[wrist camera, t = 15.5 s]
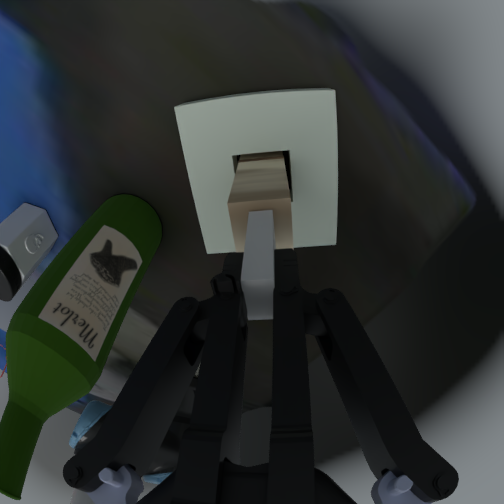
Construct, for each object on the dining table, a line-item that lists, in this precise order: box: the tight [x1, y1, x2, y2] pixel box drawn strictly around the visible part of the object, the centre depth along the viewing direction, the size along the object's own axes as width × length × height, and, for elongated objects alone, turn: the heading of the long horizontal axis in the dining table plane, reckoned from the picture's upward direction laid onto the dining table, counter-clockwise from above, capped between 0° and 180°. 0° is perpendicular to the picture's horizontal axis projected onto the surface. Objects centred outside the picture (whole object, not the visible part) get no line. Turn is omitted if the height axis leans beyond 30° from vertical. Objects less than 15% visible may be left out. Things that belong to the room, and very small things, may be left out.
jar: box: [0, 203, 58, 301], centre depth 29 cm, size 9×8×12 cm
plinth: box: [174, 88, 338, 254], centre depth 28 cm, size 16×14×3 cm
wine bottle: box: [0, 194, 162, 500], centre depth 20 cm, size 9×9×32 cm
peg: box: [227, 151, 294, 253], centre depth 24 cm, size 4×4×12 cm
